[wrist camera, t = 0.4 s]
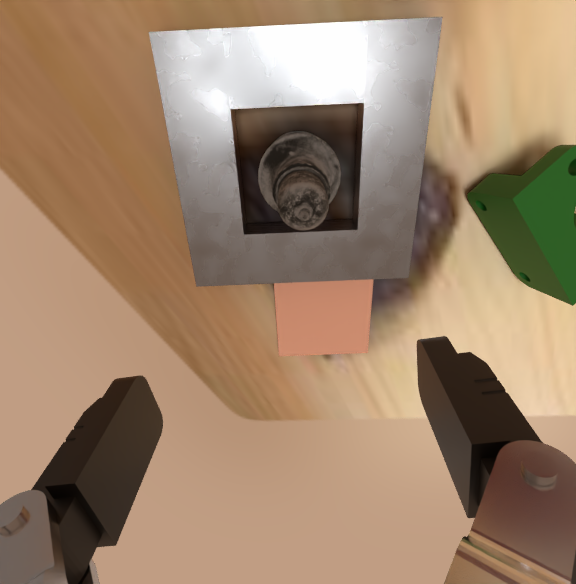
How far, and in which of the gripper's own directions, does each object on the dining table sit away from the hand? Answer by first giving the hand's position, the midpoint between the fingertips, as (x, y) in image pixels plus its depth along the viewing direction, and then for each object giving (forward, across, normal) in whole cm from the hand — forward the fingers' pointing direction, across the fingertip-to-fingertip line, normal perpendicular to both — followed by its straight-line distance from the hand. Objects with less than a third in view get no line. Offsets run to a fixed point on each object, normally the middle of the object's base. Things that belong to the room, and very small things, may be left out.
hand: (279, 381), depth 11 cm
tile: (+23, -1, +12) cm, 26 cm away
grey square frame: (+22, -1, -2) cm, 23 cm away
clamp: (+24, -19, +5) cm, 31 cm away
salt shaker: (+23, -1, -2) cm, 23 cm away
